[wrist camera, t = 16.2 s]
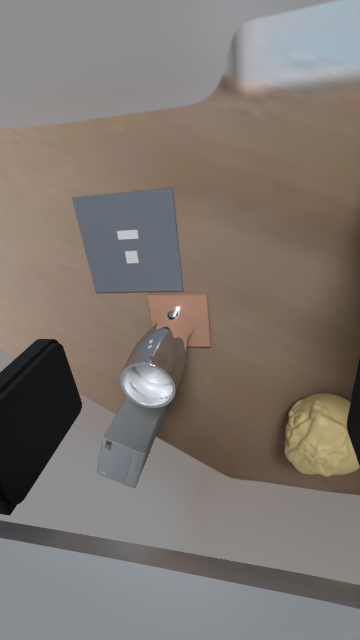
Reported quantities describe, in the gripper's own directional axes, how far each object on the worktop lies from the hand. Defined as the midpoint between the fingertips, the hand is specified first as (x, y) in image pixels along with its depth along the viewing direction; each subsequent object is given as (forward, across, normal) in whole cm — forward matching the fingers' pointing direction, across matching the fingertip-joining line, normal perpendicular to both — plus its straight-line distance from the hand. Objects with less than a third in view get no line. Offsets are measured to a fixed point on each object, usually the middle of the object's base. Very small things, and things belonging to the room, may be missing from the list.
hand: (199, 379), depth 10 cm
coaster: (+33, +9, +16) cm, 38 cm away
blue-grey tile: (+33, +15, +4) cm, 37 cm away
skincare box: (+34, +16, +31) cm, 48 cm away
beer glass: (+33, +10, +16) cm, 38 cm away
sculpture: (+34, -13, +33) cm, 49 cm away
